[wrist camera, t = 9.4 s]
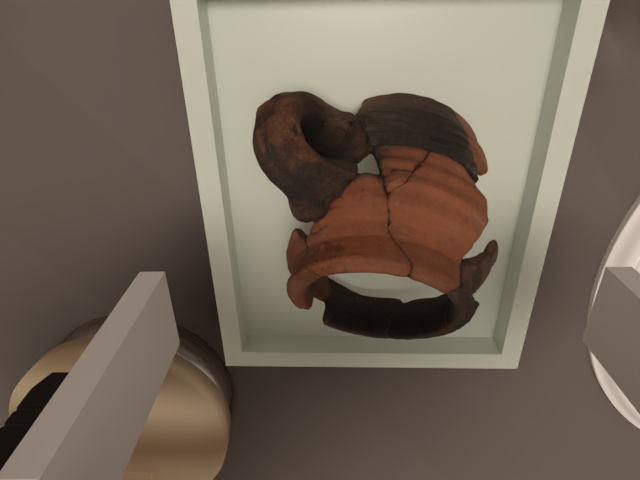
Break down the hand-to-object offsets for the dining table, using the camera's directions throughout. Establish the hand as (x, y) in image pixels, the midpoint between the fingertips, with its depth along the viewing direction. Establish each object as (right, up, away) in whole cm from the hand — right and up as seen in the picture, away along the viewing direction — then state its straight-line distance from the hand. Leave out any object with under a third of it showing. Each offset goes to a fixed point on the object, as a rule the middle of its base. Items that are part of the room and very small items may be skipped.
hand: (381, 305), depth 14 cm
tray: (+1, +4, +8) cm, 9 cm away
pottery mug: (0, +5, +7) cm, 9 cm away
